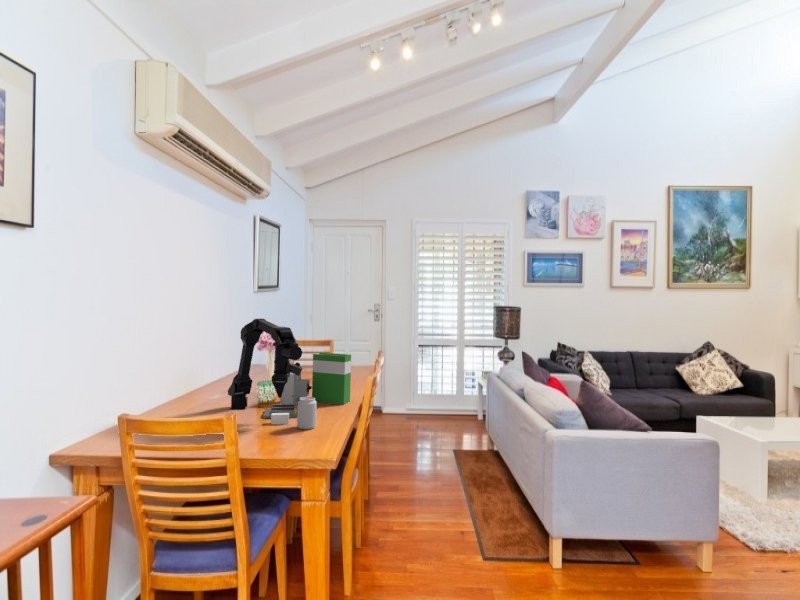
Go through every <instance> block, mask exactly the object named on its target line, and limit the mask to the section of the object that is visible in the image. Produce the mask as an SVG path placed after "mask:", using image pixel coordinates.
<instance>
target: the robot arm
mask: <svg viewBox="0 0 800 600" xmlns="http://www.w3.org/2000/svg"><path fill="white" fill-rule="evenodd" d="M264 332H265V333H266V334H268V335H270V338H271V339H272V340H273V341H274V342H273V344H272V346H273V347H274V361H273V363H274V369H273V374H272V376H271V384H272V385H273V387H274V390H275V393H276V394H277V397H278V398H279V399H280V398H281V397H282V393H283V391H284V386H285V384H286V383H287V382H288V378H289V376H290V372H291V373H293V374H296V375H298V376H300V374H301V375H302V371H303V367H302V366H301V363H300V362H296V361H298V360H300V359H301V358H302V355H303V350H302V348H301V347H300V346H299V342H297V341H296V338H295V336H294V334H293V333H294V332H293V331H292V329H291V328H290V327H289V326H279V325H277V324H274V323H272V322H270V321H268V320H266V319H265V318H254V319H253V320H252V321H250V322H248V323H246V324H245V325H244V326H243V327H242V328H241V330H240V340H241V343H242V348H241V355H240V359H239V365H238V372H237V373H236V375H235V376H234V377H233V378H232V383H231V384H230V386H229V388H228V389H227V395H228V396H230V397H231V399H230V400H231V403H230V410H245V409H246V408H247V407H248V401H249V400H248V399H249V397H248V396H247V395H250V393H251V390H252V388H253V387H252V385H253V379H252V378H251V376H250V371H251V365H252V361H253V355H254V349H255V346H256V345H257V344H258V342H260V338H261V335H262V334H263V333H264ZM292 360H293V361H295V363H292V362H291V361H292ZM287 374H288V375H287Z"/></svg>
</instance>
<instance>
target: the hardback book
mask: <svg viewBox="0 0 800 600" xmlns="http://www.w3.org/2000/svg"><path fill="white" fill-rule="evenodd" d="M351 377H352V354H347V353H335V352H334V353H332V352H330V353H329V352H319V353H313V354H312V379H311V380H312V382H311V383H312V384H311V386H312V389H311V397H314V398H315V401H316V402H317V403H320V404H321V403H322V404H329V405H330V404H331V405H332V404H333V405H339V404H341V406H344V404H345V405H347V404H349V403H351ZM348 402H349V403H348ZM346 403H347V404H346Z"/></svg>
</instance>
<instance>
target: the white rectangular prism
mask: <svg viewBox="0 0 800 600" xmlns="http://www.w3.org/2000/svg"><path fill="white" fill-rule="evenodd" d="M289 424H290V418H289V413H272V414H271V418H270V425H289Z"/></svg>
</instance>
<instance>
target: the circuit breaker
mask: <svg viewBox="0 0 800 600" xmlns="http://www.w3.org/2000/svg"><path fill="white" fill-rule="evenodd" d="M287 375H288V374H287ZM310 381H311V379H305V378H302V373H301V374H300V376H298V375H296V374H293V373H291V372H290V376H289V378H288V382H287V383H286V384H285V386H284V391H283V393H282V397H281V398H279V404H295V406H298V402H299V400H300V398H302V397H309V395H310V390H311V391H312V385H310Z"/></svg>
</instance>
